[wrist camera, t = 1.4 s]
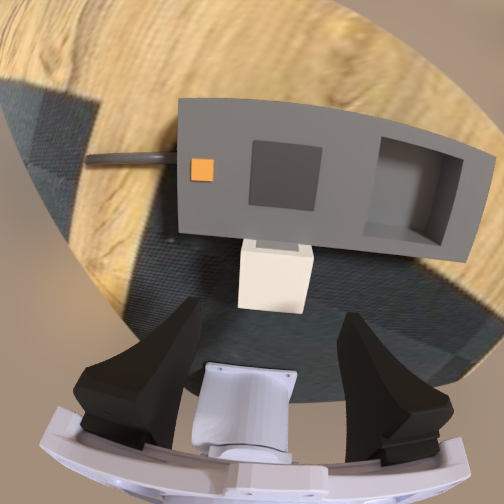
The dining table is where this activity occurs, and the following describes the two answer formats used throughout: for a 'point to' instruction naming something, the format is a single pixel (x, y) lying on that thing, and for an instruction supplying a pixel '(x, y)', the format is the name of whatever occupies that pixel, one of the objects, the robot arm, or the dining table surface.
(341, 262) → the dining table surface
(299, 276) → the plug
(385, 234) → the power strip
